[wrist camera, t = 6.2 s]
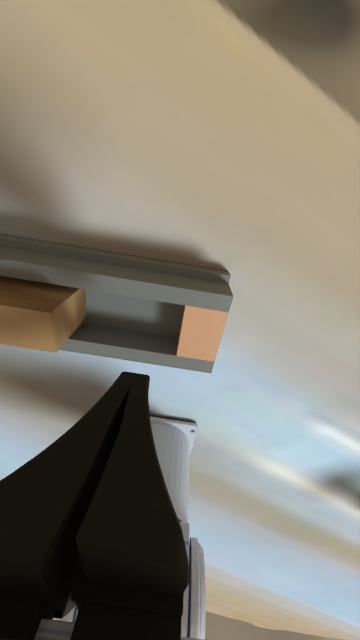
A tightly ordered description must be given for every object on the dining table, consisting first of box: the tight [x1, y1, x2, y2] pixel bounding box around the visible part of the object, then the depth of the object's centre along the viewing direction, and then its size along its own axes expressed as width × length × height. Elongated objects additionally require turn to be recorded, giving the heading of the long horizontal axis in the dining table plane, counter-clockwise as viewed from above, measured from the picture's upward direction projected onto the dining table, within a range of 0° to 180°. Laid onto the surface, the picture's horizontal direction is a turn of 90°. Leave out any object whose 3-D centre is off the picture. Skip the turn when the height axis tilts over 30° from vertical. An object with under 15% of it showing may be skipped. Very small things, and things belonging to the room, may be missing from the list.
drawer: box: [0, 276, 87, 352], centre depth 17 cm, size 3×8×5 cm, turn 81°
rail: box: [0, 234, 233, 373], centre depth 18 cm, size 8×22×4 cm, turn 81°
